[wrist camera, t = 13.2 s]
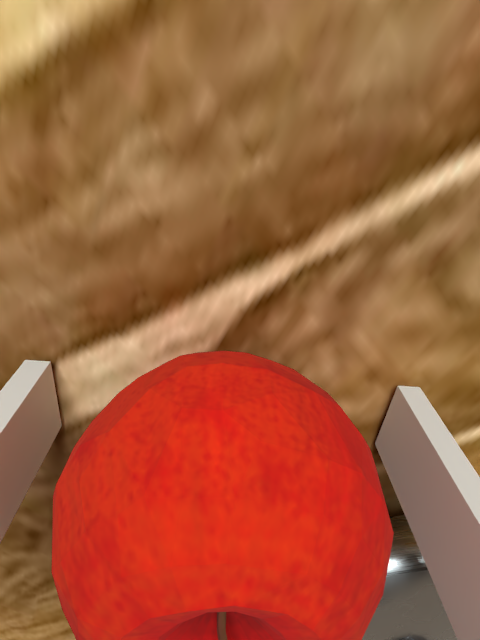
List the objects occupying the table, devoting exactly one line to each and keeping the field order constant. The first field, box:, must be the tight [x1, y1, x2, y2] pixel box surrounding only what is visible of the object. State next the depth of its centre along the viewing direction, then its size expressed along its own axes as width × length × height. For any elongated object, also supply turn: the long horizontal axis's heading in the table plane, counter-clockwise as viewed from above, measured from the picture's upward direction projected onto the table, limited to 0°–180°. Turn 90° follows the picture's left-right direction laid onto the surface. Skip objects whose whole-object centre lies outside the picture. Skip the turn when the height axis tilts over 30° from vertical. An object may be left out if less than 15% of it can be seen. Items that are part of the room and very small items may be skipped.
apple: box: [52, 351, 394, 640], centre depth 10 cm, size 8×8×7 cm
